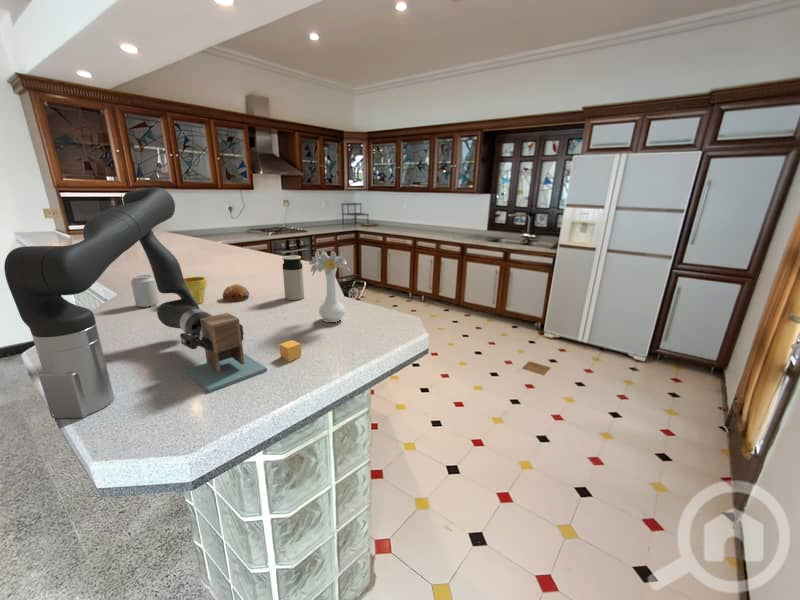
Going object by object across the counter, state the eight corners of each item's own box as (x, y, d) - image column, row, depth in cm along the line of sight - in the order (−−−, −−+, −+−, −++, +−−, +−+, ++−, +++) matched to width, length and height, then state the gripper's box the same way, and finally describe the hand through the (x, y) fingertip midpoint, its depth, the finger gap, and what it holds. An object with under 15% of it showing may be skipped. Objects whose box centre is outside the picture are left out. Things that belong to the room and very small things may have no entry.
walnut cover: (244, 363, 88) (238, 318, 84) (217, 372, 83) (211, 325, 80) (233, 355, 92) (227, 312, 88) (207, 364, 87) (200, 318, 84)
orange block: (301, 357, 97) (300, 343, 96) (288, 361, 94) (287, 348, 93) (293, 352, 99) (292, 339, 98) (280, 357, 96) (279, 344, 95)
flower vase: (337, 310, 136) (334, 245, 129) (358, 324, 122) (357, 252, 115) (304, 315, 130) (300, 248, 122) (323, 331, 115) (319, 255, 108)
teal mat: (267, 371, 89) (266, 368, 88) (208, 392, 79) (208, 389, 78) (241, 354, 97) (241, 351, 97) (186, 372, 87) (185, 369, 87)
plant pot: (181, 300, 146) (177, 277, 143) (209, 297, 150) (206, 275, 147) (178, 307, 137) (174, 283, 134) (208, 304, 141) (204, 280, 138)
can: (147, 309, 134) (141, 278, 131) (131, 307, 136) (124, 277, 132) (163, 303, 141) (158, 274, 138) (148, 302, 143) (142, 273, 139)
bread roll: (245, 303, 156) (239, 286, 156) (255, 297, 149) (249, 279, 149) (223, 308, 148) (217, 290, 148) (232, 302, 142) (226, 283, 142)
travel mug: (305, 299, 149) (302, 258, 144) (286, 301, 146) (282, 258, 141) (303, 295, 156) (300, 254, 151) (284, 296, 153) (281, 255, 148)
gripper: (167, 318, 88) (191, 336, 78) (225, 306, 99) (254, 320, 88) (172, 345, 91) (196, 366, 80) (228, 330, 101) (257, 347, 90)
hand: (226, 342), depth 84 cm, fingers closed on walnut cover, 6 cm apart
